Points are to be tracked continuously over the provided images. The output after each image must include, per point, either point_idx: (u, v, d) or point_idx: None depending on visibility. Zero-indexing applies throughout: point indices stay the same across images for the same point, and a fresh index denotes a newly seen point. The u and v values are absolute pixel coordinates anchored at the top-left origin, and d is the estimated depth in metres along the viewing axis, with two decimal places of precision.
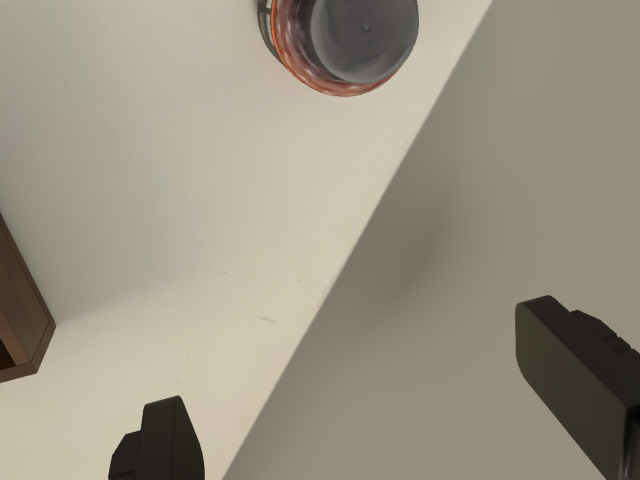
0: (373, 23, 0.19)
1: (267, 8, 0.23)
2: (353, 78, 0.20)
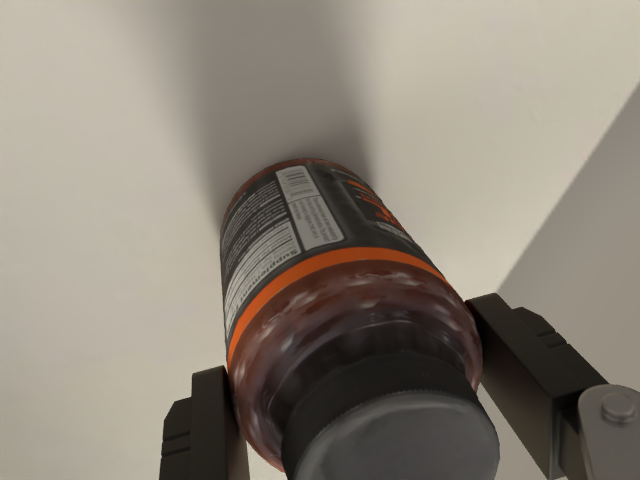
0: (414, 477, 0.10)
1: (225, 315, 0.14)
2: None
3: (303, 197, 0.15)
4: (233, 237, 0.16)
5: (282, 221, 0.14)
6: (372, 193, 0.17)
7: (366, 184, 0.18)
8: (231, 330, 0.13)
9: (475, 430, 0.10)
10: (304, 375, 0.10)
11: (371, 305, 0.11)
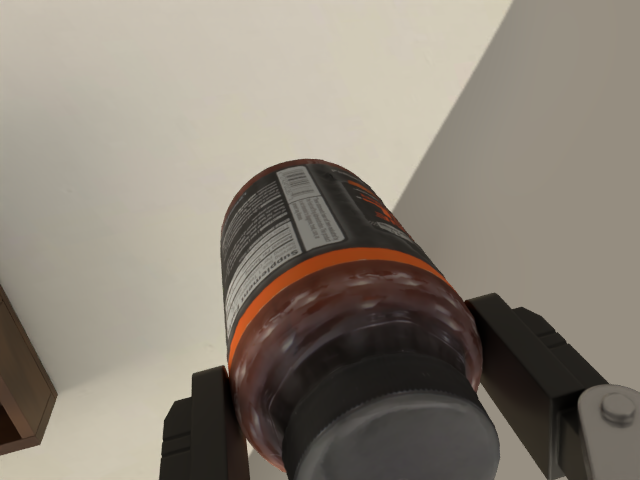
0: (414, 477, 0.10)
1: (226, 315, 0.14)
2: None
3: (303, 198, 0.15)
4: (234, 237, 0.16)
5: (283, 221, 0.14)
6: (372, 193, 0.17)
7: (366, 184, 0.18)
8: (232, 330, 0.13)
9: (475, 430, 0.10)
10: (306, 375, 0.10)
11: (371, 306, 0.11)
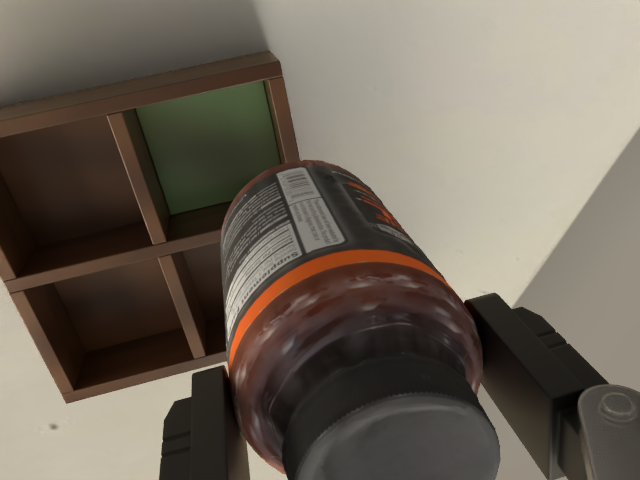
0: (415, 479, 0.10)
1: (226, 317, 0.14)
2: None
3: (303, 199, 0.15)
4: (234, 239, 0.16)
5: (283, 223, 0.14)
6: (373, 195, 0.17)
7: (367, 186, 0.18)
8: (232, 332, 0.13)
9: (475, 432, 0.10)
10: (305, 378, 0.10)
11: (371, 308, 0.11)
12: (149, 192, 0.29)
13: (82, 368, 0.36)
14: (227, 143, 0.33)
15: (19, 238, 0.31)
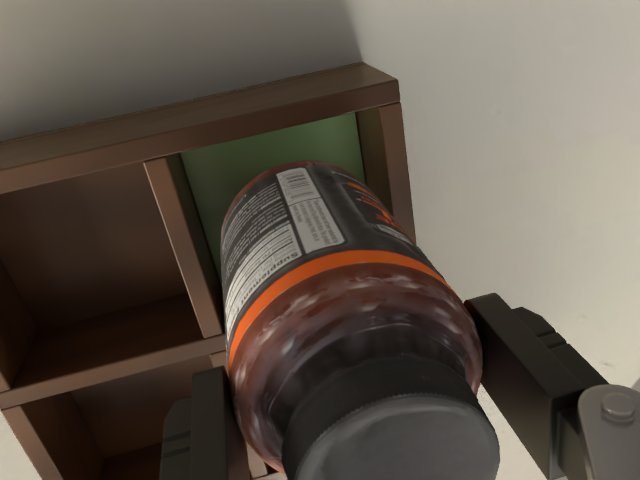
0: (414, 479, 0.10)
1: (226, 317, 0.14)
2: None
3: (303, 200, 0.15)
4: (234, 239, 0.16)
5: (283, 224, 0.14)
6: (372, 195, 0.17)
7: (366, 186, 0.18)
8: (232, 332, 0.13)
9: (475, 433, 0.10)
10: (305, 379, 0.10)
11: (371, 309, 0.11)
12: (201, 268, 0.20)
13: None
14: None
15: (15, 326, 0.22)
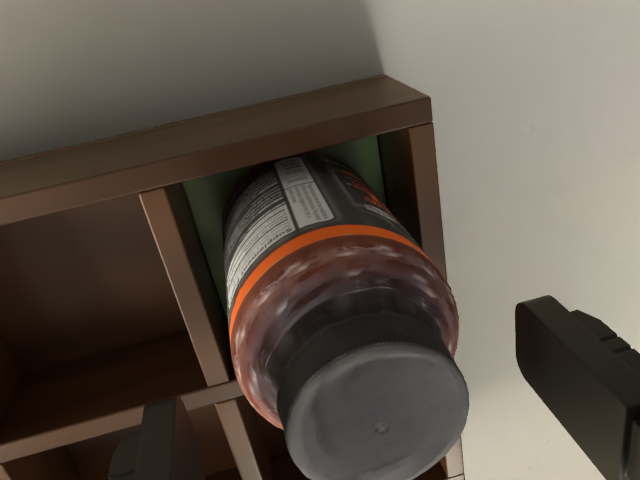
0: (392, 421, 0.11)
1: (227, 290, 0.15)
2: None
3: (298, 184, 0.16)
4: (235, 221, 0.17)
5: (279, 205, 0.15)
6: (363, 182, 0.19)
7: (358, 174, 0.20)
8: (233, 300, 0.14)
9: (445, 379, 0.11)
10: (297, 334, 0.12)
11: (356, 273, 0.12)
12: (205, 310, 0.18)
13: None
14: None
15: None
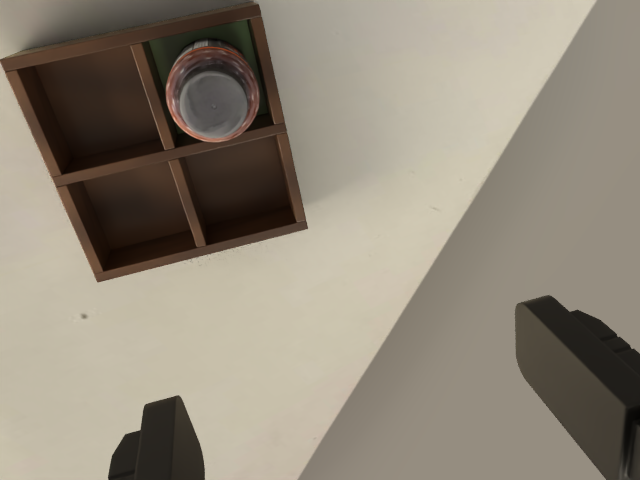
0: (217, 103, 0.32)
1: None
2: (209, 135, 0.33)
3: (200, 42, 0.37)
4: None
5: (190, 48, 0.36)
6: (236, 49, 0.39)
7: None
8: None
9: (235, 87, 0.32)
10: (186, 78, 0.33)
11: (209, 58, 0.33)
12: (162, 107, 0.39)
13: (109, 258, 0.45)
14: None
15: (62, 148, 0.41)
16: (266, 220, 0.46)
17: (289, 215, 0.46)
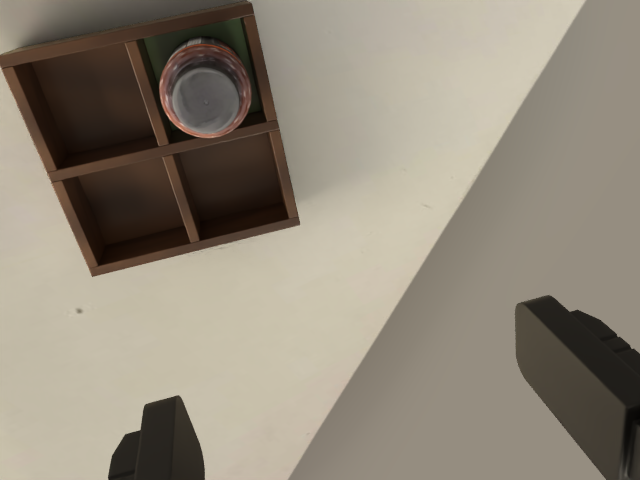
0: (210, 99, 0.33)
1: None
2: (201, 131, 0.33)
3: (194, 40, 0.38)
4: None
5: (183, 45, 0.37)
6: (230, 47, 0.40)
7: (231, 47, 0.41)
8: None
9: (226, 83, 0.32)
10: (179, 75, 0.33)
11: (202, 55, 0.34)
12: (156, 104, 0.39)
13: (103, 253, 0.46)
14: None
15: (57, 143, 0.41)
16: (259, 216, 0.47)
17: (282, 211, 0.47)
